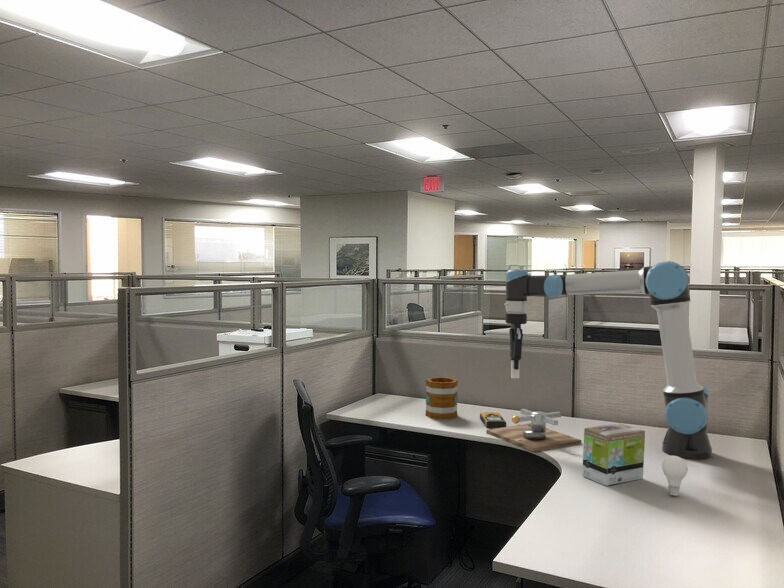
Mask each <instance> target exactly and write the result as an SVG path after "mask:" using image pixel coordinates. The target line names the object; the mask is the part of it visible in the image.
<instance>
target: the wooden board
mask: <svg viewBox="0 0 784 588" xmlns="http://www.w3.org/2000/svg"><path fill="white" fill-rule="evenodd" d="M527 428H531V422H530V423H524V424H523V423H522V424H518V425H517V424H516V425H511V426H506V427H503V428H488V429H486V434H487V435H488V434H489V435H491V436H493V437H495V438H498V439H501V440H503V441H506V442H508V443H511V444H512V445H515V446H518V447H521V448H522V449H525V450H527V451H530V452H533V453H534V452H535V453H536V452H541V451H547V450H551V449H558V448H563V447H569V446H574V445H579V444H582V439H580V438H577V437H573V436H570V435H567V434H564V433H561V432H559V431H555V430H552V429H550V428H547V427H546V438H545V439H542V440H533V439H527V438H524V437H523V430H524V429H527Z"/></svg>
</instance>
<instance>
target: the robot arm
mask: <svg viewBox="0 0 784 588" xmlns="http://www.w3.org/2000/svg"><path fill="white" fill-rule="evenodd" d="M620 293H621V294H622V293H623V294H624V293H642V294H644V295H646V296H647V295H649V302H650V307H651V308H653V309H654V310H656V314H657V321H658V330H659V335H660V341H661V343H660V344H661V348H662V349H661V351H662V357H663V363H664V371H665V377H666V386H665V387H664V388H663V390H662V392H663V399H664V405H665V406H664V407H665V409H664V418H665V420H666V423H667V424H668V427H667V430H666V433H665V435H664V438H663V440H662V443H661V444H662V447H661V448H662V449H661V450H662V452H664V453H666V454H667V455H669V456H678V457H680V458H682V459H683V458H684V459H691V460H704V459H707V460H708V459H710V458H712V457H713V448H712V445H711V442H710V439H709V434H708V430H707V427H708V420H709V419H708V417H709V416H708V400H709V399H708V397H709V391H708V388H707V387H706V386H702V385H701V384H699V382H698V380H697V378H698V377H697V371H696V366H695V360H694V352H693V344H692V340H691V339H692V338H691V332H690V331H691V330H690V324H689V318H688V317H689V316H688V312H687V311H688V309H687V307H688V305H689V304H690V303H691V294H690V289H689V273H688V272H687V270H686V269H685V267H684V266H682V265H680V263H678V262H674V261H670V260H666V261H661V262H658V263H656V264H654V265H652V266H643V267H642V268H641V269H634V270H618V271H604V272H603V271H601V272H588V273H587V272H586V273H571V274H551V275H532V274H531V275H530V274H529V273H528V271H527V270H526V269H509V270H507V271H506V279H505V302H504V304H503V305H504V306H505V312H506V313H505V324H507V325H509V324H510V328H509V330H508V332H509V352H510V353H509V356H510V361H511V363H510V365H511V368H510V370H511V371H510V377H511V379H520V378H521V377H520V370H521V369H520V367H521V365H520V364H521V363H520V362H521V360H522V349H523V337H524V334H523V329H522V327H521V326H522V325H526V324H527V323H528V315H527V312H528V297H535V298H536V297H537V298H538V297H540V298H560V297H561V296H569V295H570V296H572V295H573V296H574V295H575V296H577V295H594V294H595V295H596V294H599V295H600V294H602V295H603V294H620Z"/></svg>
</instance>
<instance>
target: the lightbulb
mask: <svg viewBox="0 0 784 588" xmlns="http://www.w3.org/2000/svg"><path fill="white" fill-rule="evenodd" d="M688 470H689V469H688V464H687V462H686V460H684V459H683V458H682V457H678V456H673V455H668V456H667V457H665V458H664V459H663V461H662V462H661V471H662V472H663V474H664V475H665V478H666V481H667V483H668V495H671V496H672V497H678V496H680V491H681V490H680V486H681V484H682V481H683V480H684V478H685V477H686V476H687V474H688Z"/></svg>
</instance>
